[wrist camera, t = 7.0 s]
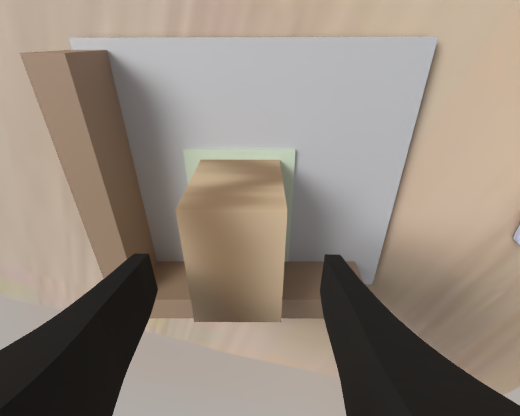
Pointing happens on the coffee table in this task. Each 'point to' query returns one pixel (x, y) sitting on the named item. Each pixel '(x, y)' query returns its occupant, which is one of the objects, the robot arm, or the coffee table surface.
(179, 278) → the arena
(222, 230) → the oak block
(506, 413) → the robot arm
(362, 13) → the coffee table surface
